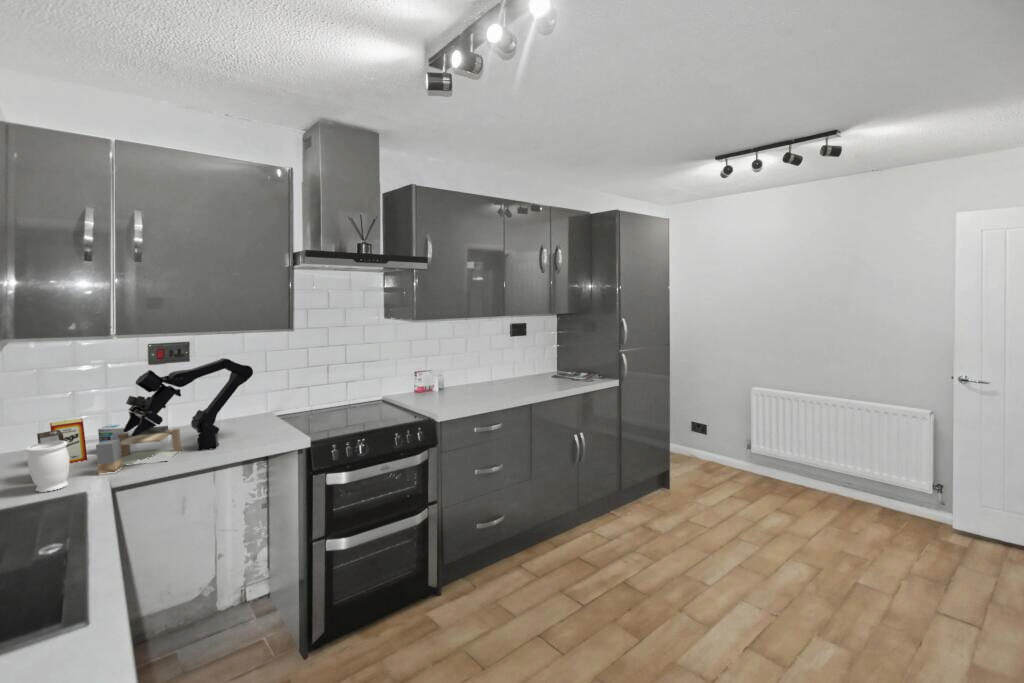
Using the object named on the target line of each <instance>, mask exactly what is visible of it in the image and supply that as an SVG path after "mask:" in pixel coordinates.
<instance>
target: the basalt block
mask: <svg viewBox="0 0 1024 683" xmlns="http://www.w3.org/2000/svg"><path fill="white" fill-rule="evenodd" d="M95 450H96V457H97V458H96V459H97V464H104V463H114V462H116V461H117V460H119V459H120V458H122V456H121V454H120V448H119V440H111V441H102V442H100V443H99V442H98V443H97V444H96V445H95Z"/></svg>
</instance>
